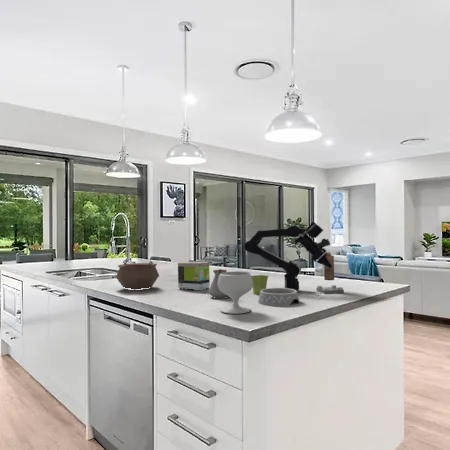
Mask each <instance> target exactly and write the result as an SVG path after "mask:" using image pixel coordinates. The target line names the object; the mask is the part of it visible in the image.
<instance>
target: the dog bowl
mask: <svg viewBox="0 0 450 450" xmlns="http://www.w3.org/2000/svg"><path fill="white" fill-rule="evenodd" d="M298 293H299V292H298V291H296V290H294V289H289V288H285V287H269V288H267V287H266V289H263V290H261V291H260V294H259V296H258V301H257V303H258V304H259V305H262V306H267V307H268V306H270V307H289V306H291V304H292V303H294V302H295V301H298V303H299V304H300V303H301V301H300V298H299V294H298Z"/></svg>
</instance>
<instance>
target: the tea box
mask: <svg viewBox="0 0 450 450" xmlns="http://www.w3.org/2000/svg"><path fill="white" fill-rule="evenodd" d="M210 279H211V277H210V262H209V261H183V262H178V263H177V280H178V283H177V285H178V286H177V287H178V288H185V289H184V290H187V289H194V290H193V291H203V290H202V289H205V290H207V289H206V288H209V289H210V287H211V284H210V283H211V282H210V281H211V280H210Z"/></svg>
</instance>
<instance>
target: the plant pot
mask: <svg viewBox="0 0 450 450" xmlns="http://www.w3.org/2000/svg"><path fill="white" fill-rule="evenodd" d="M251 277H252V280H253V287H252V291H253V294H255V295H260V291H261V290H263V289H267V286H268V285H267V283H268V279H269V275H265V274H264V275H262V274H257V275H256V274H255V275H251Z"/></svg>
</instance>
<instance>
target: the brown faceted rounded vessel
mask: <svg viewBox="0 0 450 450" xmlns="http://www.w3.org/2000/svg"><path fill="white" fill-rule="evenodd" d="M157 265H158V263H153V261H152V260H149V262H135V263H133V262H132V263H128V262H127V260H126V259H124V260H123V262H122V264H119V265H117V267H118V268H119V269H118V271H117V273H116V276H115V278H116V280H117V281H118V283H119V285H121V286H122V288H123V287H125V288H131V289H141V288H149V287H151V288H153V286H154V284H155V283H156V281H157V280H158V278H159V277H160V274H159V272H158V269H157V268H156V267H157Z"/></svg>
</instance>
